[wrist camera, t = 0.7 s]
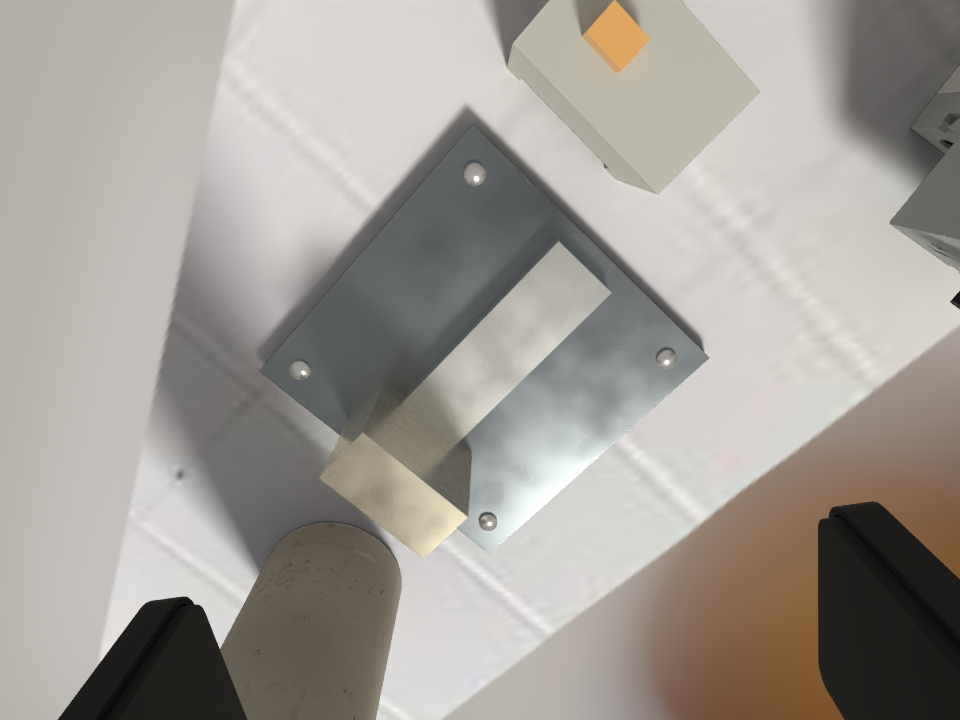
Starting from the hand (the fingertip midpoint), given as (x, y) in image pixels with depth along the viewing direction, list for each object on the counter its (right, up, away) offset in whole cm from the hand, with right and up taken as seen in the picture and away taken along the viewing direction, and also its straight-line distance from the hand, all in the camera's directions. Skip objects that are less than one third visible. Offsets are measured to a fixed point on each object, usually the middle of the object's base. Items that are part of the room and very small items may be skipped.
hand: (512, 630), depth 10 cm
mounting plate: (0, +4, +23) cm, 23 cm away
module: (+5, +16, +19) cm, 25 cm away
